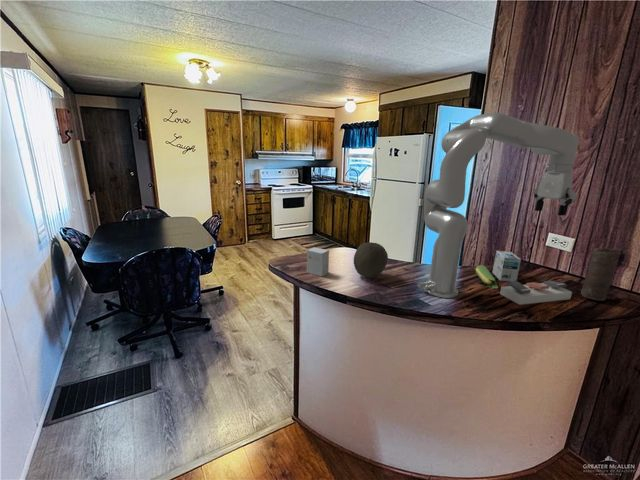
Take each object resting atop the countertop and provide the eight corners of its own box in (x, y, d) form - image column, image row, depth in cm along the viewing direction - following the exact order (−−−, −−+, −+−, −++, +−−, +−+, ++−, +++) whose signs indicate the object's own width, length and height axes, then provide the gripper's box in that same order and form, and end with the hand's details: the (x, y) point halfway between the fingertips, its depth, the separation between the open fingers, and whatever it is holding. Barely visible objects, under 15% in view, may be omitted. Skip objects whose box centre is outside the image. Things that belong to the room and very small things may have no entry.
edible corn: (486, 264, 140) (476, 261, 141) (502, 283, 121) (490, 278, 122) (480, 274, 142) (471, 270, 142) (495, 294, 123) (484, 289, 124)
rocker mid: (540, 289, 114) (540, 286, 114) (526, 285, 120) (526, 282, 120) (548, 288, 115) (549, 285, 115) (534, 284, 121) (534, 282, 121)
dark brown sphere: (383, 285, 124) (386, 250, 120) (349, 280, 128) (351, 245, 124) (387, 273, 137) (390, 241, 133) (356, 268, 141) (358, 237, 137)
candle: (607, 305, 113) (623, 253, 108) (581, 300, 117) (596, 249, 112) (602, 297, 120) (617, 248, 114) (578, 293, 123) (591, 245, 118)
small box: (328, 273, 135) (329, 250, 132) (321, 277, 131) (322, 253, 128) (313, 269, 139) (314, 246, 136) (306, 272, 135) (306, 249, 132)
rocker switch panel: (519, 304, 112) (521, 295, 111) (499, 293, 120) (501, 285, 119) (570, 299, 117) (572, 290, 116) (548, 289, 126) (550, 281, 125)
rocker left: (521, 293, 112) (522, 291, 112) (508, 284, 118) (509, 282, 117) (529, 292, 113) (530, 290, 113) (516, 283, 119) (517, 281, 118)
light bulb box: (516, 282, 132) (522, 258, 129) (499, 281, 133) (504, 257, 130) (507, 273, 142) (512, 251, 139) (491, 272, 143) (495, 250, 140)
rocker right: (558, 287, 116) (558, 284, 116) (543, 284, 122) (543, 281, 122) (566, 286, 117) (566, 284, 117) (551, 283, 123) (551, 280, 123)
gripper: (531, 167, 125) (523, 209, 130) (575, 170, 109) (563, 217, 114) (546, 168, 127) (537, 209, 132) (591, 170, 111) (579, 217, 116)
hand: (549, 212), depth 123 cm, fingers open, 9 cm apart
